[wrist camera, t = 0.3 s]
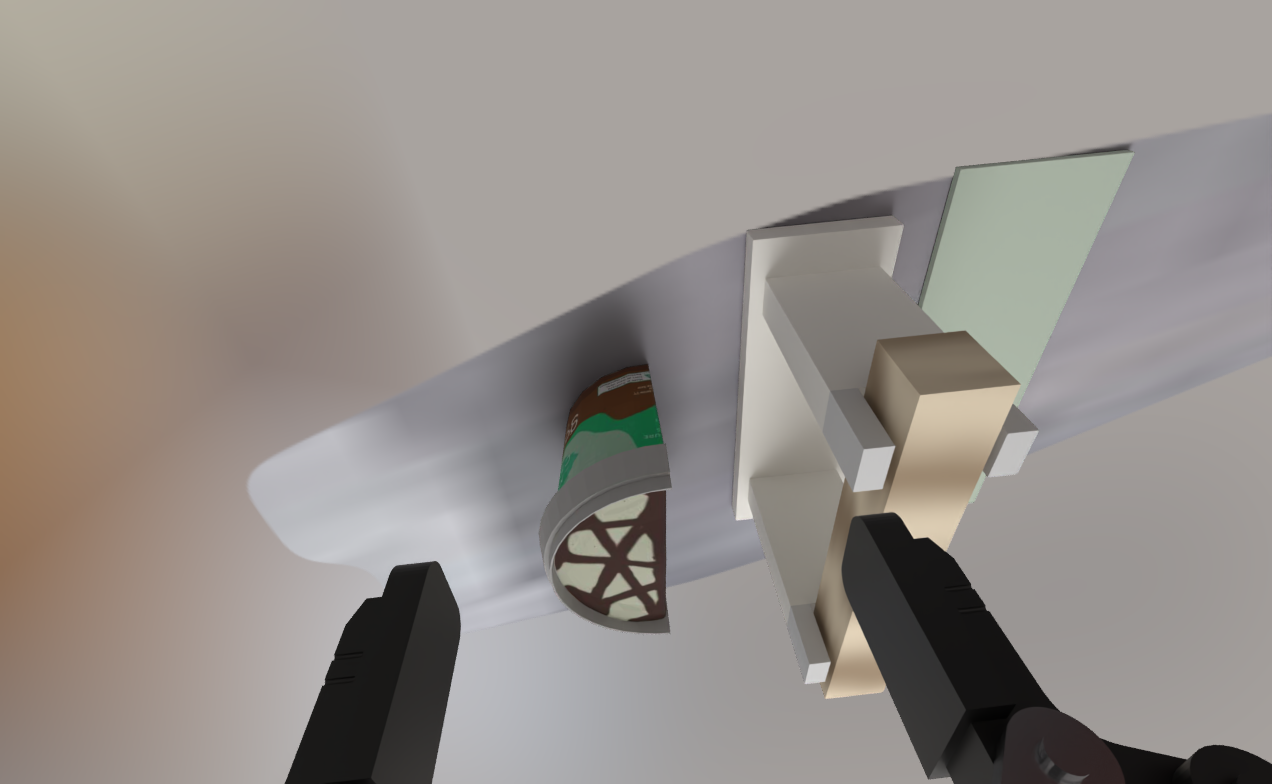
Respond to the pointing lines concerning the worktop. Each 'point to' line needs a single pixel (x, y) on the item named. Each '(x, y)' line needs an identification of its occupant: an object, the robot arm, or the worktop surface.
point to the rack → (821, 398)
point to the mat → (1017, 251)
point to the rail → (914, 470)
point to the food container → (611, 508)
